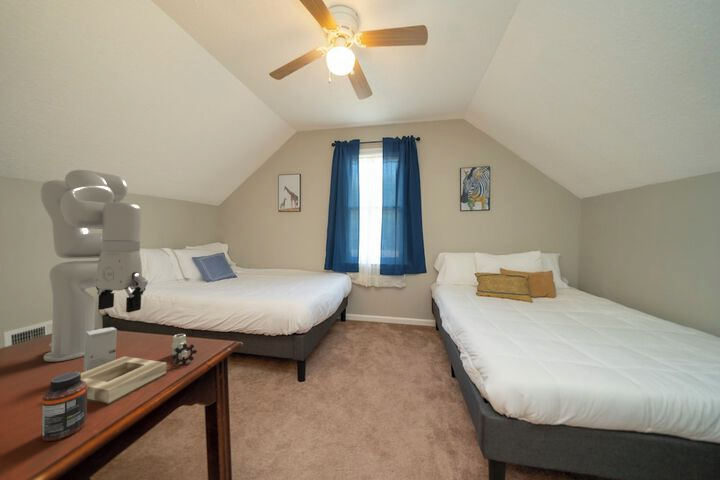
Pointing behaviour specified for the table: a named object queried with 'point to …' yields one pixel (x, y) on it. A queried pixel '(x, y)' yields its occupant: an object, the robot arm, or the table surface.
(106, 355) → the skincare box
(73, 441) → the table surface
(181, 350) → the valve
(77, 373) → the supplement bottle
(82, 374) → the socket block
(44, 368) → the table surface
